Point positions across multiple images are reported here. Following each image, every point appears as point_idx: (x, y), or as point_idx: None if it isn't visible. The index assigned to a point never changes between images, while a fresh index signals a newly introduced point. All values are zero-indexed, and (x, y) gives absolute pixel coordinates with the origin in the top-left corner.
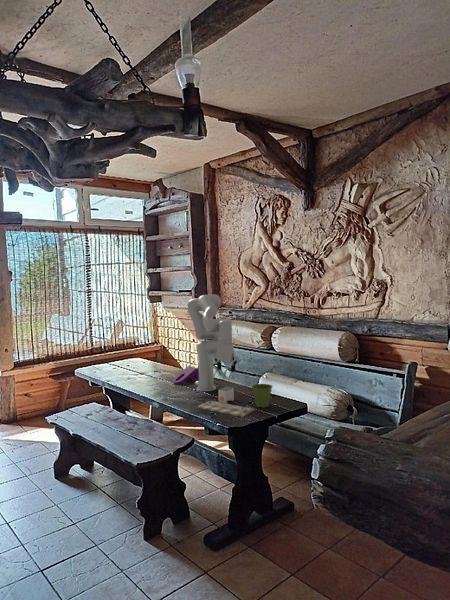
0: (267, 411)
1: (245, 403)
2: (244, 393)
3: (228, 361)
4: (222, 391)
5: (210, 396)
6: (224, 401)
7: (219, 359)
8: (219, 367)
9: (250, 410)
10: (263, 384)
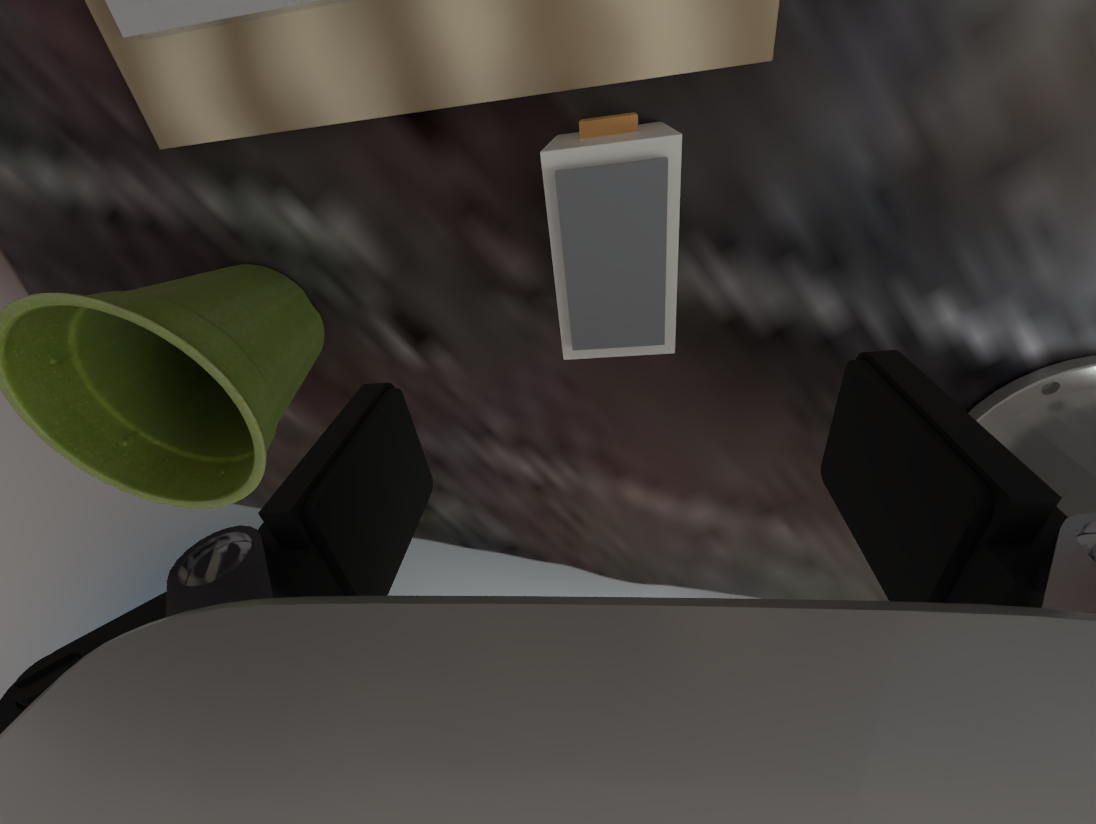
0: (105, 214)
1: (422, 288)
2: (627, 492)
3: (199, 611)
4: (597, 144)
5: (888, 266)
6: (571, 136)
7: (1052, 705)
8: (870, 443)
9: (130, 70)
10: (228, 491)
